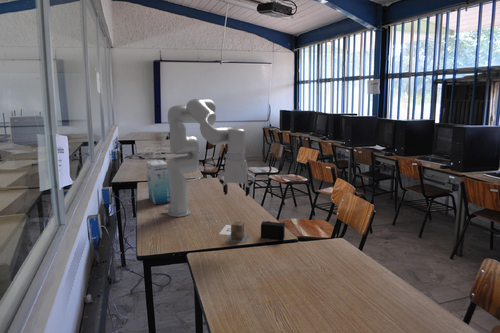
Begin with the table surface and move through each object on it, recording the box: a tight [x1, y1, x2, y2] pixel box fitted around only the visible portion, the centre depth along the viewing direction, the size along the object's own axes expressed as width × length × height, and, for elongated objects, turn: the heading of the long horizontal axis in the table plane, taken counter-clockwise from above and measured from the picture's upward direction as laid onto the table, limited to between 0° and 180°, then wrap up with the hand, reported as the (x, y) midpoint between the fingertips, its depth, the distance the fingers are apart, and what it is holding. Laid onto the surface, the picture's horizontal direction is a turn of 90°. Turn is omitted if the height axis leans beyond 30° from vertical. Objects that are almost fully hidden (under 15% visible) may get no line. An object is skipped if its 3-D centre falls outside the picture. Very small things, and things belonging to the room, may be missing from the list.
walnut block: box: [230, 220, 245, 240], centre depth 170 cm, size 5×5×7 cm
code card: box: [218, 224, 231, 236], centre depth 182 cm, size 8×13×1 cm, turn 169°
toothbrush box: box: [145, 159, 170, 206], centre depth 231 cm, size 18×10×24 cm, turn 27°
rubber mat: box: [225, 234, 250, 244], centre depth 171 cm, size 9×9×1 cm
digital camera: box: [260, 220, 286, 242], centre depth 172 cm, size 10×5×7 cm, turn 76°
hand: (236, 194), depth 168 cm, fingers open, 9 cm apart
